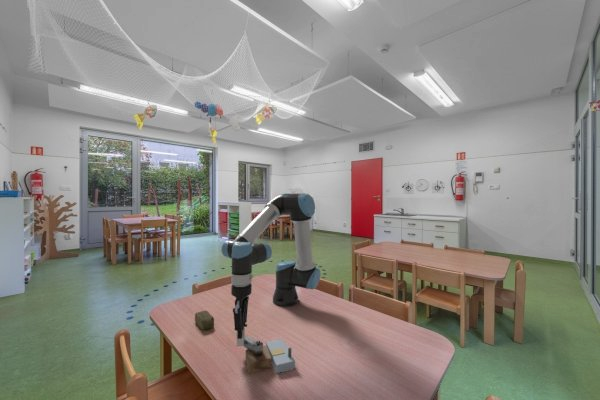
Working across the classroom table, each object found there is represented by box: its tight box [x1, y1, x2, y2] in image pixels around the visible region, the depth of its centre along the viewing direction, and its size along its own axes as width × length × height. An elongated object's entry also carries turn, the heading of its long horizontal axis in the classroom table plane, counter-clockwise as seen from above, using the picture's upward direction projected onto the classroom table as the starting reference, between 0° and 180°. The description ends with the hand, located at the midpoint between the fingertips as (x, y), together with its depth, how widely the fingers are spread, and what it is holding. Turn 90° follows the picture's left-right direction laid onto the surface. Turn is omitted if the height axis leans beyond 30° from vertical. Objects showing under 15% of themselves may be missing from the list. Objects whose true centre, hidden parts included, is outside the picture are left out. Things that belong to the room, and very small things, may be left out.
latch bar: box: [243, 333, 264, 356], centre depth 97 cm, size 12×4×4 cm, turn 49°
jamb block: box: [244, 345, 272, 375], centre depth 94 cm, size 8×8×4 cm
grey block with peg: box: [265, 338, 296, 374], centre depth 97 cm, size 7×15×6 cm, turn 21°
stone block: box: [194, 310, 215, 331], centre depth 122 cm, size 6×12×5 cm, turn 41°
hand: (240, 345), depth 97 cm, fingers closed
